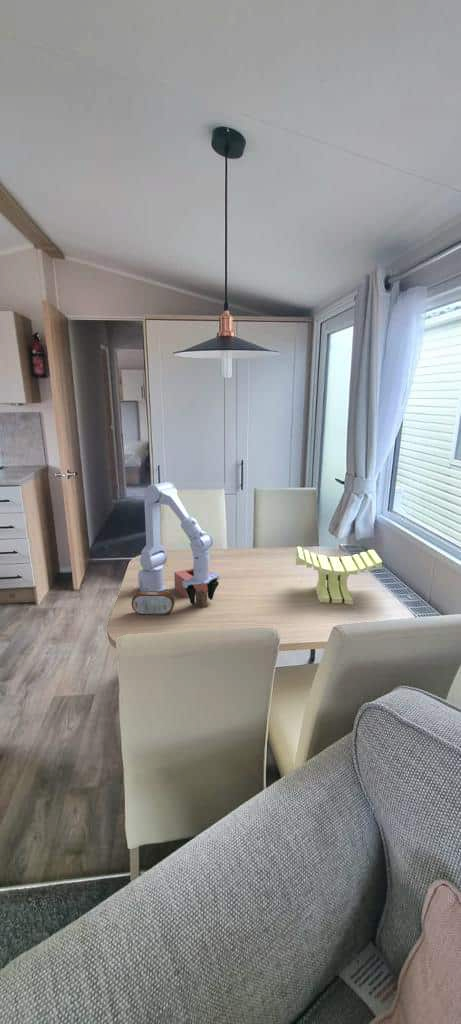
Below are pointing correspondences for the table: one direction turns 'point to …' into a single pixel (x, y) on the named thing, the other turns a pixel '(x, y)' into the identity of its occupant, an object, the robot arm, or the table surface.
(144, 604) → the tin
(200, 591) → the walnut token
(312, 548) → the table surface
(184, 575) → the money box
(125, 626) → the table surface
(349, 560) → the slatted curved stool
